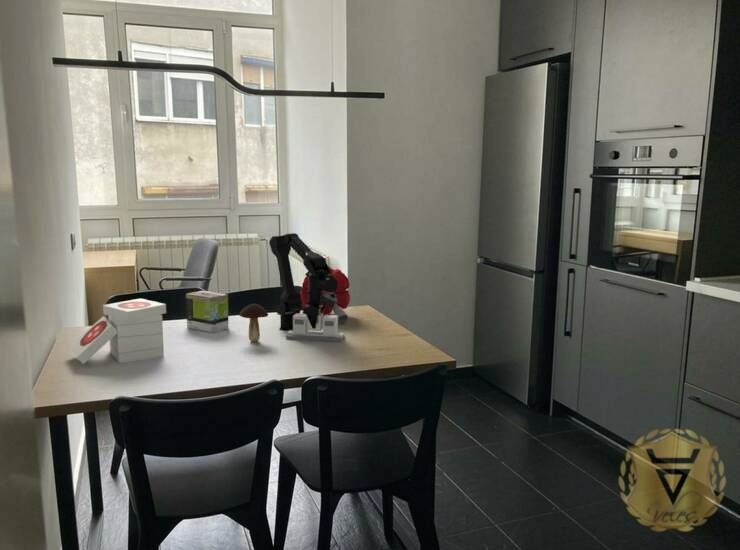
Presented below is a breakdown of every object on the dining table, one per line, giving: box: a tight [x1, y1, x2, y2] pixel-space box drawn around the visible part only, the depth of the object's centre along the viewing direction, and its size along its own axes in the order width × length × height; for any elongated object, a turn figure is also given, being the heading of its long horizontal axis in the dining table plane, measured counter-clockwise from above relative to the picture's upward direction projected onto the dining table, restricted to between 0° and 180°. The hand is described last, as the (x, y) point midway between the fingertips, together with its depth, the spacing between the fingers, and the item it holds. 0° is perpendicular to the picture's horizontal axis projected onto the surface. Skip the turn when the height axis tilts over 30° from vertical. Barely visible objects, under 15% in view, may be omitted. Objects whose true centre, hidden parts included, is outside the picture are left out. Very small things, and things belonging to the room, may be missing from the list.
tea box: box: [185, 290, 229, 334], centre depth 247 cm, size 15×10×15 cm
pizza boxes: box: [69, 298, 167, 365], centre depth 207 cm, size 19×30×18 cm, turn 124°
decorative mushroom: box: [238, 303, 269, 343], centre depth 228 cm, size 11×11×15 cm
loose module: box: [308, 313, 323, 332], centre depth 236 cm, size 5×5×6 cm
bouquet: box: [300, 266, 351, 324], centre depth 268 cm, size 22×24×30 cm
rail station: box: [285, 312, 345, 343], centre depth 236 cm, size 22×8×9 cm, turn 83°
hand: (315, 326), depth 236 cm, fingers closed on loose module, 5 cm apart
